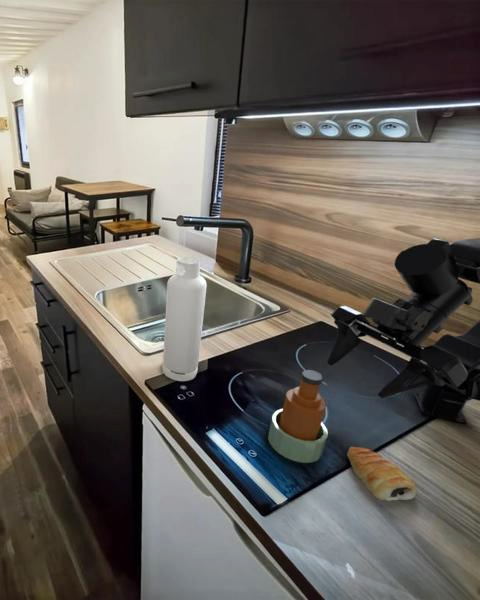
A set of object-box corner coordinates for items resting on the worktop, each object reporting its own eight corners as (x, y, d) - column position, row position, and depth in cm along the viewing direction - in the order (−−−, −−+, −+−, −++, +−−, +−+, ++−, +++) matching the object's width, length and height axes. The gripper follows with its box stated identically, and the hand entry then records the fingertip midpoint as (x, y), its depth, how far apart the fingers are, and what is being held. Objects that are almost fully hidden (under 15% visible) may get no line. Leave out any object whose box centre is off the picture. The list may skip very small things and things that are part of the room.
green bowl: (268, 423, 71) (273, 403, 69) (319, 437, 67) (326, 416, 65) (266, 454, 64) (270, 433, 62) (322, 472, 60) (329, 450, 58)
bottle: (156, 365, 89) (161, 257, 78) (183, 358, 92) (193, 251, 80) (175, 384, 83) (183, 269, 71) (204, 375, 85) (217, 262, 73)
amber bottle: (276, 427, 69) (292, 361, 62) (312, 437, 66) (332, 369, 60) (275, 449, 64) (291, 380, 58) (313, 461, 62) (335, 390, 55)
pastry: (333, 456, 63) (339, 439, 61) (370, 452, 63) (376, 435, 62) (378, 506, 55) (386, 488, 53) (420, 501, 55) (429, 483, 53)
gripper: (352, 263, 63) (287, 330, 65) (485, 307, 46) (392, 394, 49) (375, 296, 68) (314, 357, 70) (504, 347, 51) (418, 425, 54)
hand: (352, 379), depth 61 cm, fingers open, 9 cm apart
